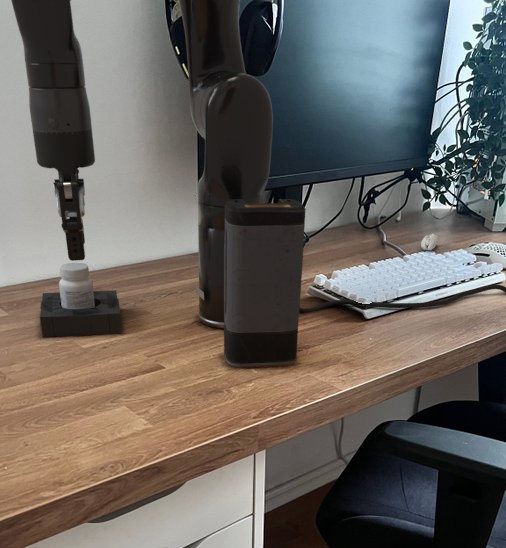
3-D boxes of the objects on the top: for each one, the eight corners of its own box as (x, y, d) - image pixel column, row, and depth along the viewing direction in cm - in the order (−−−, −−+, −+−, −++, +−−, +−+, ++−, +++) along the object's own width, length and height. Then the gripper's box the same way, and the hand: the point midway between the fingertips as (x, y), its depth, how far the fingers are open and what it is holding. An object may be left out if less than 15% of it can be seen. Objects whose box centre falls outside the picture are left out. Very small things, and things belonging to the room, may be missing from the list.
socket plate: (118, 308, 108) (116, 289, 107) (122, 333, 99) (121, 313, 97) (44, 311, 106) (42, 292, 105) (41, 337, 97) (38, 317, 95)
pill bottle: (66, 317, 104) (59, 261, 100) (98, 317, 105) (93, 261, 100) (61, 328, 100) (54, 270, 96) (94, 328, 101) (89, 270, 96)
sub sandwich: (439, 245, 150) (441, 232, 149) (432, 253, 144) (434, 240, 143) (424, 243, 151) (426, 230, 150) (417, 251, 145) (419, 238, 144)
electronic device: (288, 349, 95) (297, 198, 85) (298, 366, 90) (308, 207, 80) (222, 352, 94) (223, 198, 84) (228, 369, 89) (229, 208, 79)
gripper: (92, 131, 84) (105, 264, 92) (90, 120, 96) (102, 238, 104) (28, 132, 83) (48, 267, 91) (35, 121, 95) (51, 241, 103)
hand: (77, 251), depth 98 cm, fingers open, 8 cm apart
